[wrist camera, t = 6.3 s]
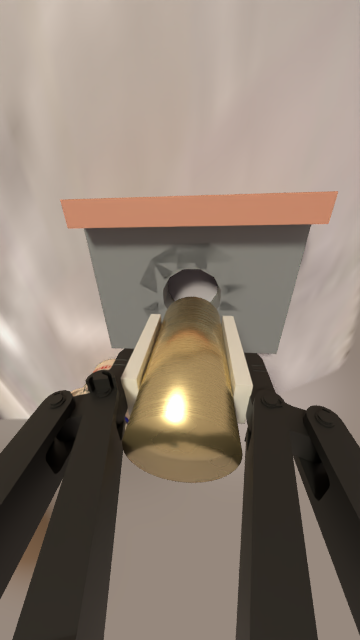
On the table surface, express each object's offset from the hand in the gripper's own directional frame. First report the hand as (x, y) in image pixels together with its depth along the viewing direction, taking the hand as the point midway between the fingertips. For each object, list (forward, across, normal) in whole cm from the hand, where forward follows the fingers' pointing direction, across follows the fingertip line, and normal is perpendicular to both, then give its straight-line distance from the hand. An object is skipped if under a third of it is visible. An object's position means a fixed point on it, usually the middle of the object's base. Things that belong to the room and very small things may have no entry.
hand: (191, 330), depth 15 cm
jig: (+10, 0, +1) cm, 10 cm away
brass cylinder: (+1, 0, 0) cm, 1 cm away
